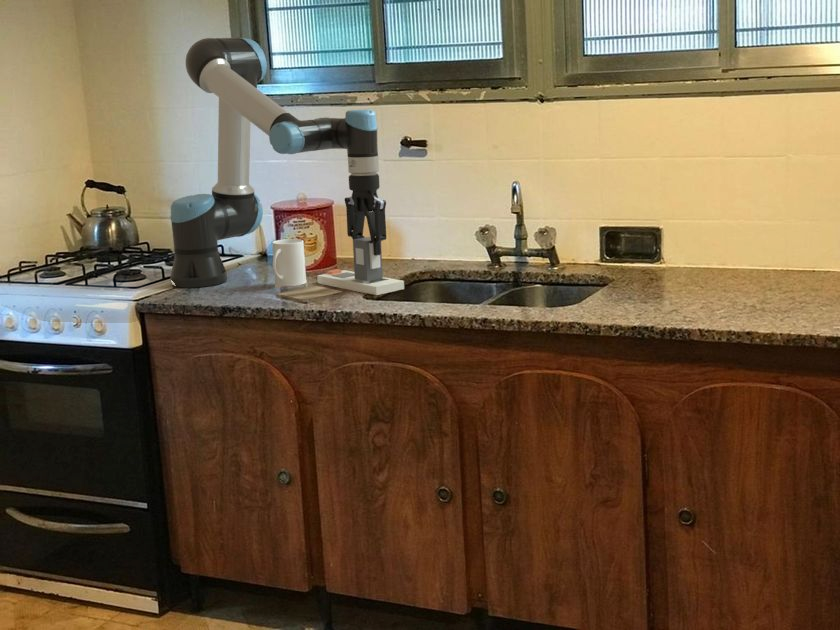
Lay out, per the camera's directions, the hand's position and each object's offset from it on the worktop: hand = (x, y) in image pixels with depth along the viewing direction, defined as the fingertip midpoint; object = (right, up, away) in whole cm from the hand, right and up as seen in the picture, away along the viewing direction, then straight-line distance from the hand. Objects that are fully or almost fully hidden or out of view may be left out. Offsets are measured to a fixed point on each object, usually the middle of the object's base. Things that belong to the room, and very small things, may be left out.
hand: (368, 266), depth 260 cm
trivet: (-15, -8, -1) cm, 16 cm away
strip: (-4, -5, +6) cm, 9 cm away
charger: (0, -3, +1) cm, 3 cm away
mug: (-22, -5, +11) cm, 25 cm away
